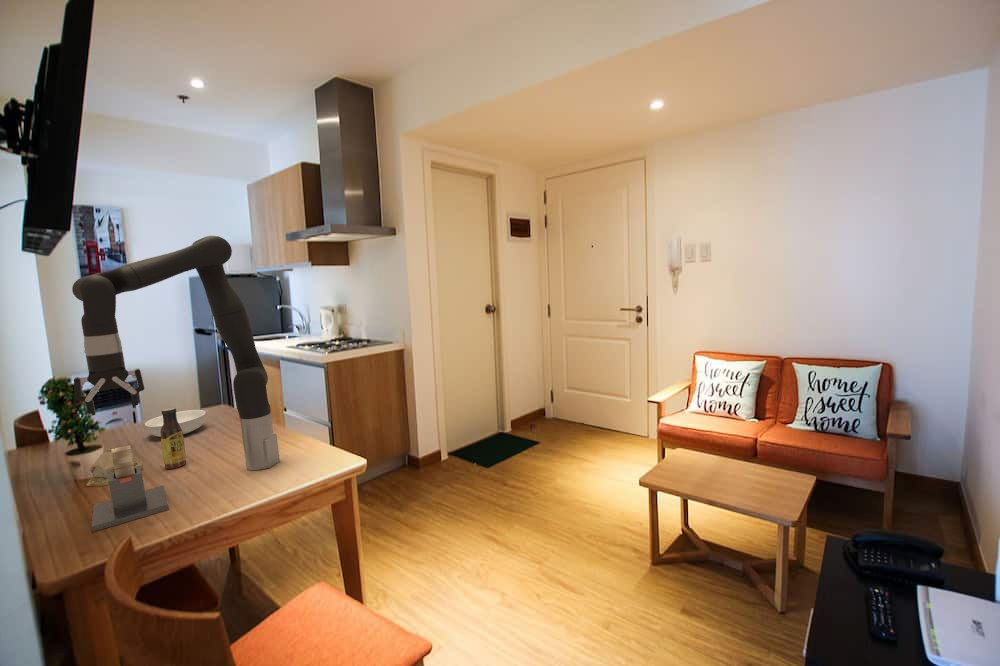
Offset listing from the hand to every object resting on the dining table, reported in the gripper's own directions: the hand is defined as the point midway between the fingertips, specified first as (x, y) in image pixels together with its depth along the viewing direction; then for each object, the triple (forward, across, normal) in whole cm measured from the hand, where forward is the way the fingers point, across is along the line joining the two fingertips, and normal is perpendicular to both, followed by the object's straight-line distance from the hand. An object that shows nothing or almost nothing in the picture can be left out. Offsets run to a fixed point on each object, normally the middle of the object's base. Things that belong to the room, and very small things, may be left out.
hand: (114, 411), depth 127 cm
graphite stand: (+28, 0, 0) cm, 28 cm away
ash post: (+27, 0, 0) cm, 27 cm away
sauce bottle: (+28, -13, -28) cm, 42 cm away
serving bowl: (+28, -17, -71) cm, 78 cm away
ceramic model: (+28, +4, -32) cm, 43 cm away
